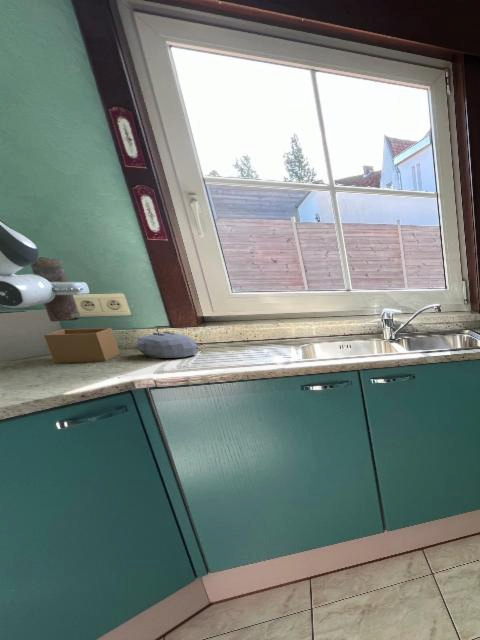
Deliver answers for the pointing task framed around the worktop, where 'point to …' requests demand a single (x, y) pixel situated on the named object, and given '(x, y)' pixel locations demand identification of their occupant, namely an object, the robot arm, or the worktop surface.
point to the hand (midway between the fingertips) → (55, 286)
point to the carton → (82, 345)
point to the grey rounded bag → (167, 345)
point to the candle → (61, 304)
